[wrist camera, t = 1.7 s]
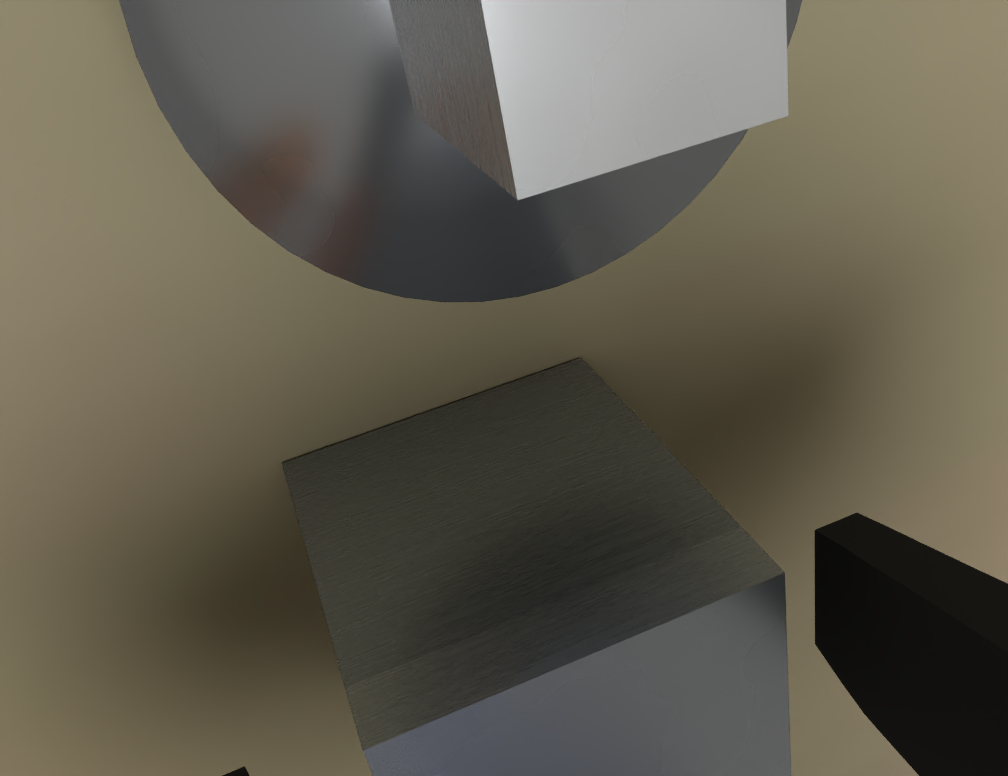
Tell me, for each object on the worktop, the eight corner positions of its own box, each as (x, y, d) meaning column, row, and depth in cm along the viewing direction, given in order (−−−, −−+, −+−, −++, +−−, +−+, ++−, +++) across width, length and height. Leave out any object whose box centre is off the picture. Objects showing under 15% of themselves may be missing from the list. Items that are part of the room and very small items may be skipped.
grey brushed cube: (617, 580, 16) (793, 831, 12) (365, 683, 15) (462, 991, 11) (581, 357, 14) (785, 572, 9) (282, 462, 13) (362, 750, 9)
